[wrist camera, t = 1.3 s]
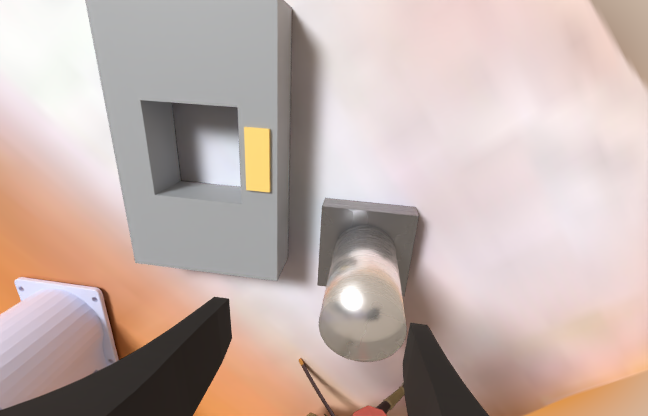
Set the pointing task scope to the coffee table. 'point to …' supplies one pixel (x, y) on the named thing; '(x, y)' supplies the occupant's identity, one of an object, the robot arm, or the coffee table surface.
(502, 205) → the coffee table surface
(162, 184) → the hole board
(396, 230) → the gray square base plate
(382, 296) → the metal peg
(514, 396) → the coffee table surface
